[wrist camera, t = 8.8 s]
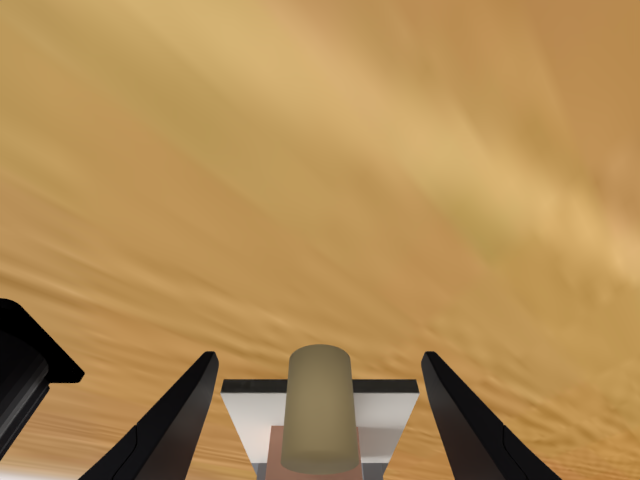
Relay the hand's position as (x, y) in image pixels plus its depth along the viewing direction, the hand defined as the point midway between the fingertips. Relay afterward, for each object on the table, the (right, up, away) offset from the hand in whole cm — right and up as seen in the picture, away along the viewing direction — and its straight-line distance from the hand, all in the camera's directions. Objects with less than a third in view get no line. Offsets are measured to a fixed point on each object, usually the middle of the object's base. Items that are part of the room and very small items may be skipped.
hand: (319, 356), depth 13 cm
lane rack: (0, -13, +12) cm, 18 cm away
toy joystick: (0, -5, +5) cm, 7 cm away
